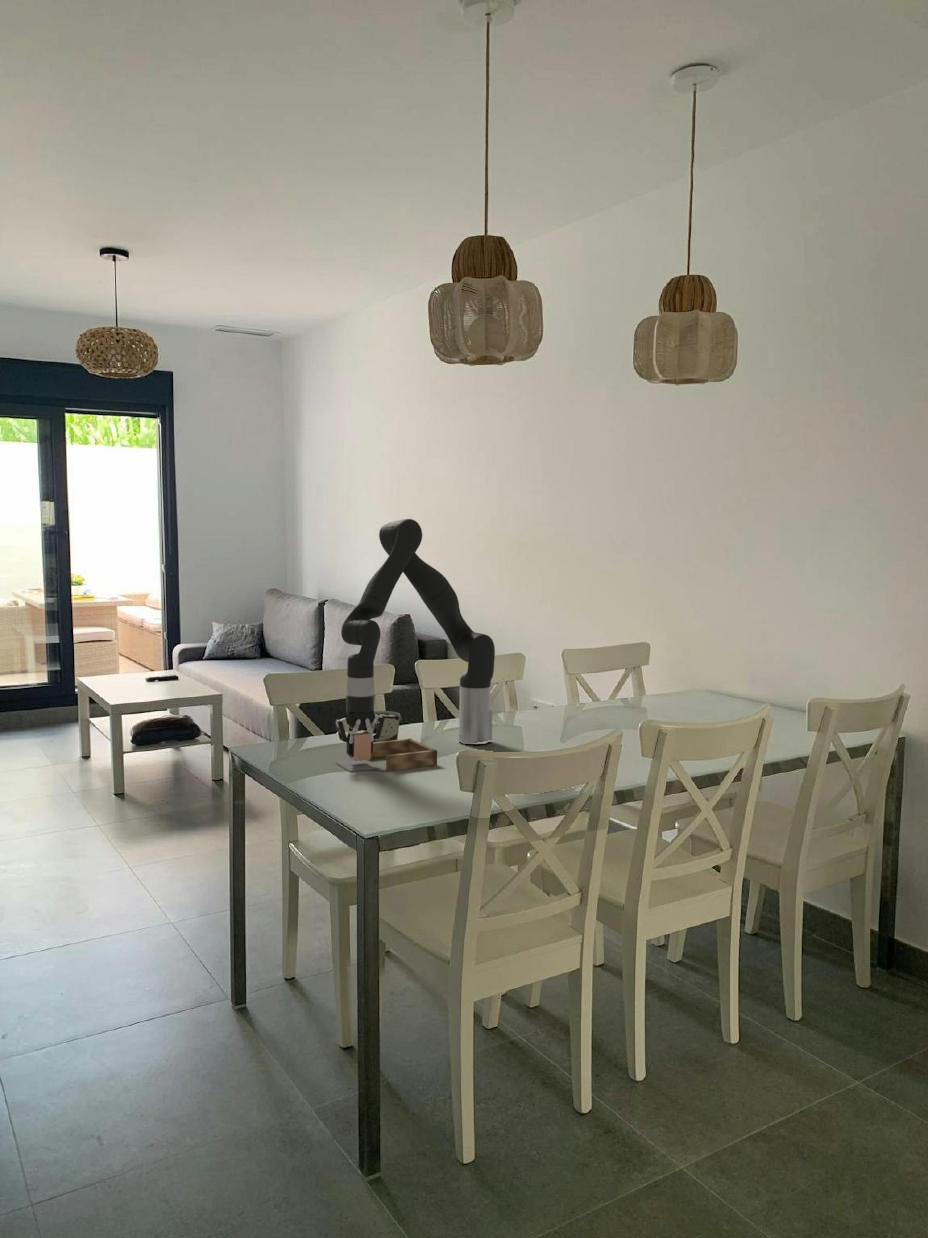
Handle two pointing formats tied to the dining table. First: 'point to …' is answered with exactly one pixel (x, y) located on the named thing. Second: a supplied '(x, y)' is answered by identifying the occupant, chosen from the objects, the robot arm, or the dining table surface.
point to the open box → (404, 754)
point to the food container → (388, 725)
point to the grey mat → (354, 766)
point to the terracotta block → (362, 746)
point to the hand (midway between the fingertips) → (359, 755)
